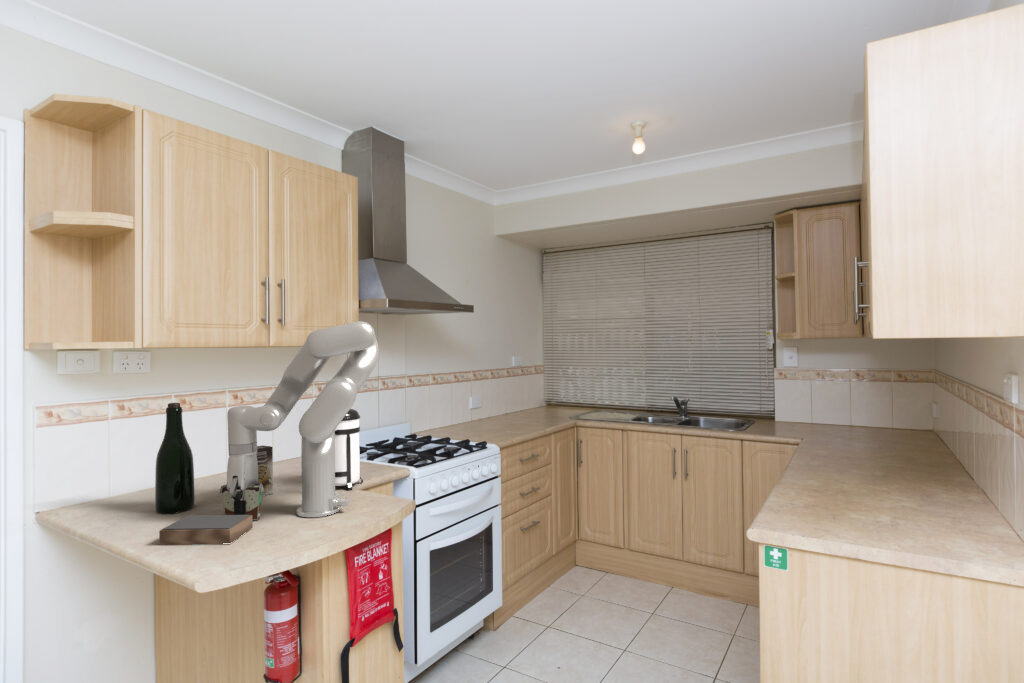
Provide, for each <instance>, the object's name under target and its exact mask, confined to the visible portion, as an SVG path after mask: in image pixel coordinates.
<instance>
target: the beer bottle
mask: <svg viewBox="0 0 1024 683" xmlns="http://www.w3.org/2000/svg"><path fill="white" fill-rule="evenodd" d="M165 414H166V415H165V419H166V420H165V430H164V435H163V438H162V441H161V444H160V446H159V449H158V451H157V454H156V459H155V472H154V473H155V474H154V475H155V476H154V477H155V480H154V481H155V482H154V483H155V487H154V488H155V489H154V497H155V498H154V501H155V503H154V505H155V506H154V507H155V511H156V512H157V513H159V514H164V513H167V514H177V513H181V511H182V512H185V510H186V511H188V509H189V510H191V509H192V508H194V506H195V505H196V504H195V503H196V502H195V501H196V498H195V497H196V495H195V494H196V493H195V491H196V490H195V470H194V469H195V468H194V467H195V464H194V455H193V452H192V449H191V448H192V447H190V443H189V442H188V439H187V437H186V434H185V431H184V426H183V407H182V406H181V402H170V403H167V407H166V409H165ZM176 512H177V513H176Z"/></svg>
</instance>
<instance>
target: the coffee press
mask: <svg viewBox="0 0 1024 683" xmlns="http://www.w3.org/2000/svg"><path fill="white" fill-rule="evenodd" d="M360 418H361V415H360V413H359V412H358V411H357V409H353V408H350V410H349V411H348V412H347V414H346V415H345V417H344V418H343V419H342V421H341V422H340V423H339V425H338V426H337V427H336V429H335V487H342V486H343V487H346V490H347V491H352V490H353V484H356V483H358V484H363V483H364V479H363V478H362V477H361V473H360V472H361V471H360V470H361V468H360V467H361V465H360V464H361V462H360V461H361V460H360V459H361V458H360V457H361V456H360V455H361V454H360V452H361V451H360V450H361V449H360V432H361V426H360ZM359 480H361V481H360V482H359Z"/></svg>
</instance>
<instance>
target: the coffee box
mask: <svg viewBox="0 0 1024 683" xmlns="http://www.w3.org/2000/svg"><path fill="white" fill-rule="evenodd" d="M256 455H257V463H258V481H259V482H261V483H262V485H263V488H264V491H263V492H261V497H265V496H264V495H266V496H269V494H270V495H273V494H274V487H273V486H274V484H273V482H274V480H273V477H274V475H273V474H274V470H273V465H274V464H273V459H274V458H273V456H274V455H273V446H271V445H270V446H269V445H263V444H262V445H257V453H256Z"/></svg>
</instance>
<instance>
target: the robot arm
mask: <svg viewBox="0 0 1024 683" xmlns="http://www.w3.org/2000/svg"><path fill="white" fill-rule="evenodd" d="M379 349H380V348H379V342H378V340H377V336H376V332H375V329H374V327H373V326H372V325H371V324H370V323H368V322H366V321H361V320H359V321H358V320H357V321H354V322H348V323H345V324H339V325H337V326H331V327H325V328H320V329H316V330H313V331H312V332H310V333H309V334H308V335H307V337H306V340H305V342H304V343H303V345H302V346H301V348H300V349H299V351H298V352H297V354H296V355H295V356H294V357H293V359H292V360H291V361H290V363H289V364H288V365H287V367H286V369H285V370H284V372H283V375H282V377H281V379H280V382H279V383H278V385H277V387H276V388H275V390H274V391H273V392H272V393H271V395H270V396H269V398H268V399H267V401H266V402H265V403H264V404H263V405H262V406H257V407H254V406H252V405H240V406H233V407H231V408H229V409H228V411H227V440H228V441H227V442H228V443H227V444H228V448H227V449H228V460H227V467H226V468H227V471H226V485H227V490H228V491H229V494H230V495H231V496H232V498H233V501H234V514H235V515H244V514H246V500H244V496H245V489H247V488H248V487H250V486H252V485H254V484H255V481H258V463H257V455H256V453H257V446H258V439H257V438H258V437H257V436H258V435H257V431H260V432H272V431H274V430H276V429H279V427H280V426H281V425H282V424H283V422H284V421H285V420H286V419H287V417H288V416H289V414H290V413H291V411H292V410H293V408H294V407H295V406H296V404H297V403H298V402H299V400H300V398H301V397H302V396H303V395H304V393H305V392H306V391H308V390H309V388H310V387H311V385H312V384H313V382H314V381H315V380H316V378H317V376H318V375H319V374H320V372H321V371H322V370H323V368H324V367H325V365H326V364H327V363H328V361H329V360H330V358H331V357H337V356H341V355H346V354H349V355H348V356H347V358H346V359H345V361H344V362H343V364H342V365H341V367H340V368H339V370H338V371H337V372H336V373H335V375H333V377H332V378H331V379H330V380H329V381H328V382H327V383H326V384H325V386H324V387H323V389H322V390H321V392H319V394H318V396H317V397H316V398H315V399H314V401H313V402H312V403H311V404H310V406H309V408H308V409H307V410H306V411H305V412H304V413H303V414H302V416H301V418H300V420H299V422H298V432H299V435H300V437H301V448H300V449H301V457H300V458H301V460H300V461H301V462H300V463H301V506H299V507H297V509H296V515H297V516H299V517H303V518H322V517H326V516H327V515H328V516H331V514H332V515H334V513H335V514H336V512H337V513H338V512H340V511H341V509H342V507H349V506H350V505H349V504H350V500H349V499H348V498H347V497H346V498H340V497H339V493H336V486H335V429H336V427H337V426H338V425H339V423H340V422H341V421H342V419H343V418H344V417H345V415H346V414H347V412H348V411H349V410H350V409H352V406H353V405H354V403H355V401H356V399H357V394H358V392H360V390H361V389H362V387H363V385H364V384H365V382H366V381H367V379H369V377H370V375H371V374H372V372H373V370H375V369H374V368H375V367H376V365H377V363H378V360H379V356H380V355H379V352H380V351H379ZM238 487H241V488H240V489H238V490H237V488H238ZM237 492H241V495H240V494H239V493H237ZM339 510H340V511H339Z"/></svg>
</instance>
